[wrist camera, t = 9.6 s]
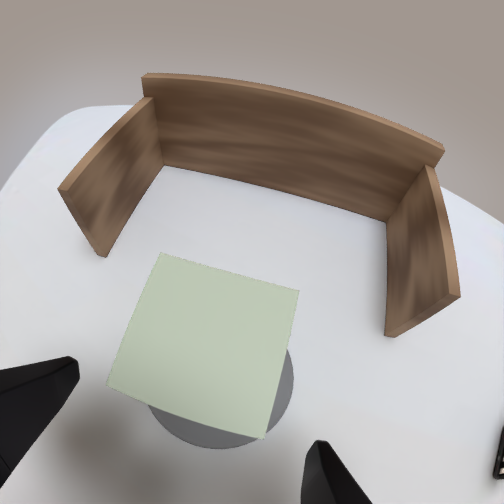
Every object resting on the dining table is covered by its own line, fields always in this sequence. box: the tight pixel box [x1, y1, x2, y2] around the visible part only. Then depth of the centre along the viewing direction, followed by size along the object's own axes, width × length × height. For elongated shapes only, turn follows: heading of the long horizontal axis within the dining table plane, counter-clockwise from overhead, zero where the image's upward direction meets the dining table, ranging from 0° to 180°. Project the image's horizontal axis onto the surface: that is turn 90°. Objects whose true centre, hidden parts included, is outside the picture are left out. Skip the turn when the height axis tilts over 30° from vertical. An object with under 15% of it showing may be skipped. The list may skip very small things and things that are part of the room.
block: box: [106, 252, 299, 439], centre depth 12 cm, size 5×5×10 cm
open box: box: [57, 73, 461, 338], centre depth 19 cm, size 12×25×10 cm, turn 75°
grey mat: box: [148, 350, 294, 449], centre depth 17 cm, size 10×10×1 cm
